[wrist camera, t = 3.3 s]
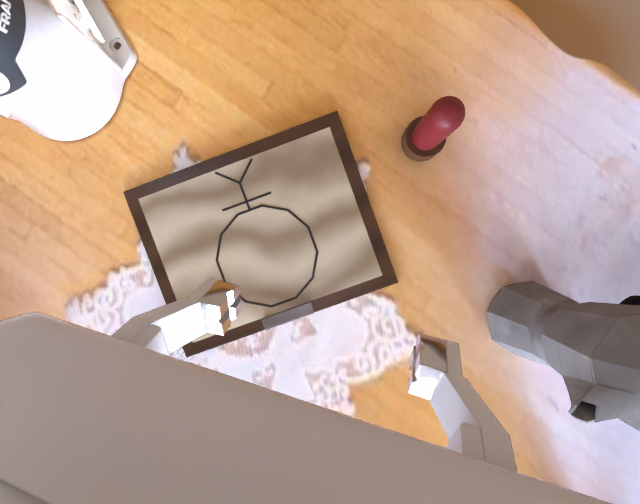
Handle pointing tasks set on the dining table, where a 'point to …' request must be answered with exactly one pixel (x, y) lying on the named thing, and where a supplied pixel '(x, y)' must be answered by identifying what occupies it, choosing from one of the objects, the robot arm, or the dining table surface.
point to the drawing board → (266, 229)
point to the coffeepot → (576, 346)
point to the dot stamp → (433, 128)
